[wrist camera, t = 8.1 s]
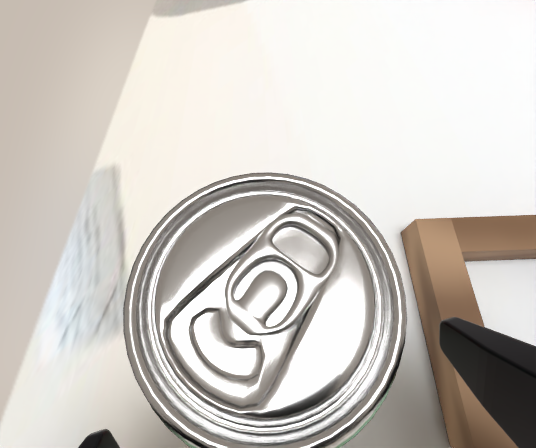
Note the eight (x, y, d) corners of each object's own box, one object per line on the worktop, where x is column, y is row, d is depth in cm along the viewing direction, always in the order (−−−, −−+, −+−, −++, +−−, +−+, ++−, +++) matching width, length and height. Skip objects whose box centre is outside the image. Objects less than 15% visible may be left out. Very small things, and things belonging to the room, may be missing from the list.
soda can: (200, 342, 15) (23, 320, 4) (261, 267, 17) (243, 111, 6) (278, 412, 14) (304, 632, 3) (335, 324, 16) (491, 262, 5)
